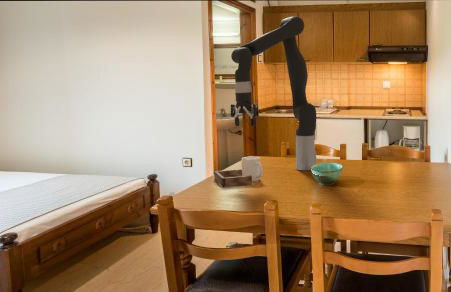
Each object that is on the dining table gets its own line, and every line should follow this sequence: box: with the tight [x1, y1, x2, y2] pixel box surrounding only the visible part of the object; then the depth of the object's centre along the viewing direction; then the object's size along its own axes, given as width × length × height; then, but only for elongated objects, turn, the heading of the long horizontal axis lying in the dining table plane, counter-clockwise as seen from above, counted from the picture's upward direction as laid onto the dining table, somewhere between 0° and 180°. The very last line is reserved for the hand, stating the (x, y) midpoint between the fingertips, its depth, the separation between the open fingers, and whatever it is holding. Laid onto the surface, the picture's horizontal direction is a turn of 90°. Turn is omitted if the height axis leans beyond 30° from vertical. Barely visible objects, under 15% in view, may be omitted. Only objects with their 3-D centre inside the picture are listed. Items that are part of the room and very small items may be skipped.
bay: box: [213, 168, 253, 188], centre depth 230 cm, size 13×17×4 cm
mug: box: [241, 156, 264, 183], centre depth 231 cm, size 12×8×10 cm
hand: (245, 126), depth 237 cm, fingers open, 8 cm apart
